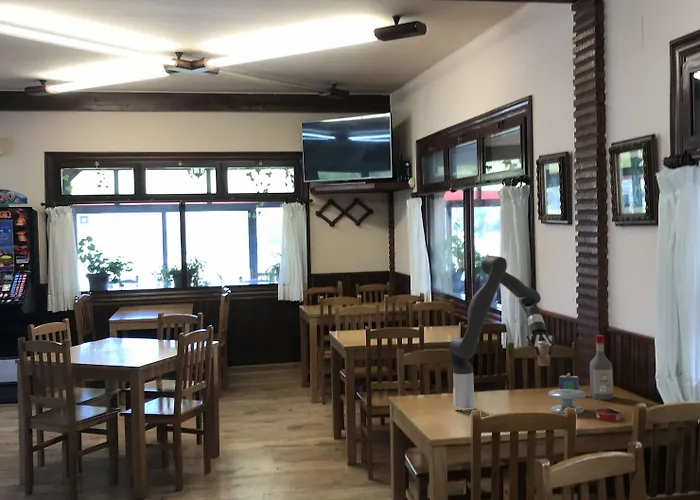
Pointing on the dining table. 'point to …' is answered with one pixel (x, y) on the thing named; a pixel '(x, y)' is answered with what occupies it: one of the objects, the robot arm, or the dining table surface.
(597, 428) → the dining table surface
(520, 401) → the dining table surface
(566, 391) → the cake stand
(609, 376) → the liquor
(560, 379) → the flask
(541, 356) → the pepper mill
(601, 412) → the canned food
